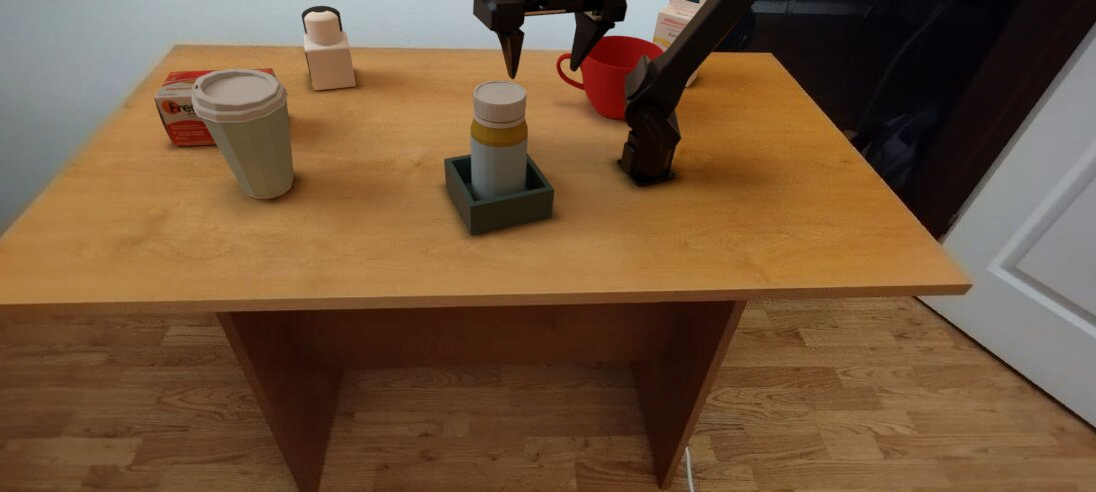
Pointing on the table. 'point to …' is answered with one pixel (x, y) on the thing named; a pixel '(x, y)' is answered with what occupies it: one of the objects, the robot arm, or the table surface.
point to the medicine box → (184, 108)
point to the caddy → (498, 198)
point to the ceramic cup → (610, 71)
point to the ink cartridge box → (674, 24)
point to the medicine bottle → (327, 49)
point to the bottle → (498, 140)
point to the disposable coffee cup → (248, 127)
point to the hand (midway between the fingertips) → (542, 74)
